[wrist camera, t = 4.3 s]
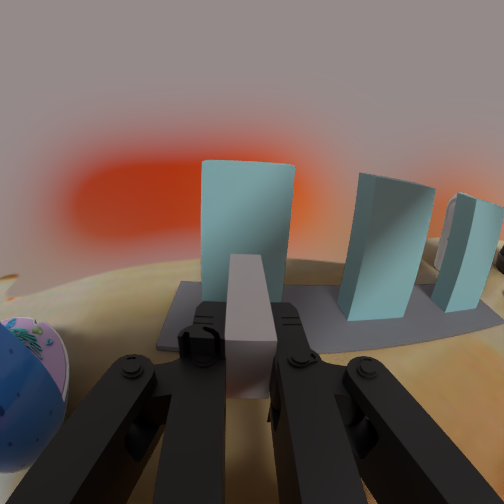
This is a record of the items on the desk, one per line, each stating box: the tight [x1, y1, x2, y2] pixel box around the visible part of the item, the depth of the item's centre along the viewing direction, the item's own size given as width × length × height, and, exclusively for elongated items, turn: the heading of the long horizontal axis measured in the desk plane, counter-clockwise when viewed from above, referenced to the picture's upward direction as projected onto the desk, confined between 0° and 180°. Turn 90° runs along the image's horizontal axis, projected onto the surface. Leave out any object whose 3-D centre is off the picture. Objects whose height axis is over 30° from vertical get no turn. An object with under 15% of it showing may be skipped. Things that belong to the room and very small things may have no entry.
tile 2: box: [337, 173, 435, 321], centre depth 21 cm, size 6×3×12 cm, turn 92°
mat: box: [156, 281, 504, 354], centre depth 23 cm, size 36×10×1 cm, turn 92°
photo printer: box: [434, 192, 470, 271], centre depth 34 cm, size 10×4×12 cm, turn 124°
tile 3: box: [201, 160, 295, 302], centre depth 20 cm, size 6×3×12 cm, turn 92°
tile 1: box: [431, 193, 504, 313], centre depth 22 cm, size 6×3×12 cm, turn 92°
